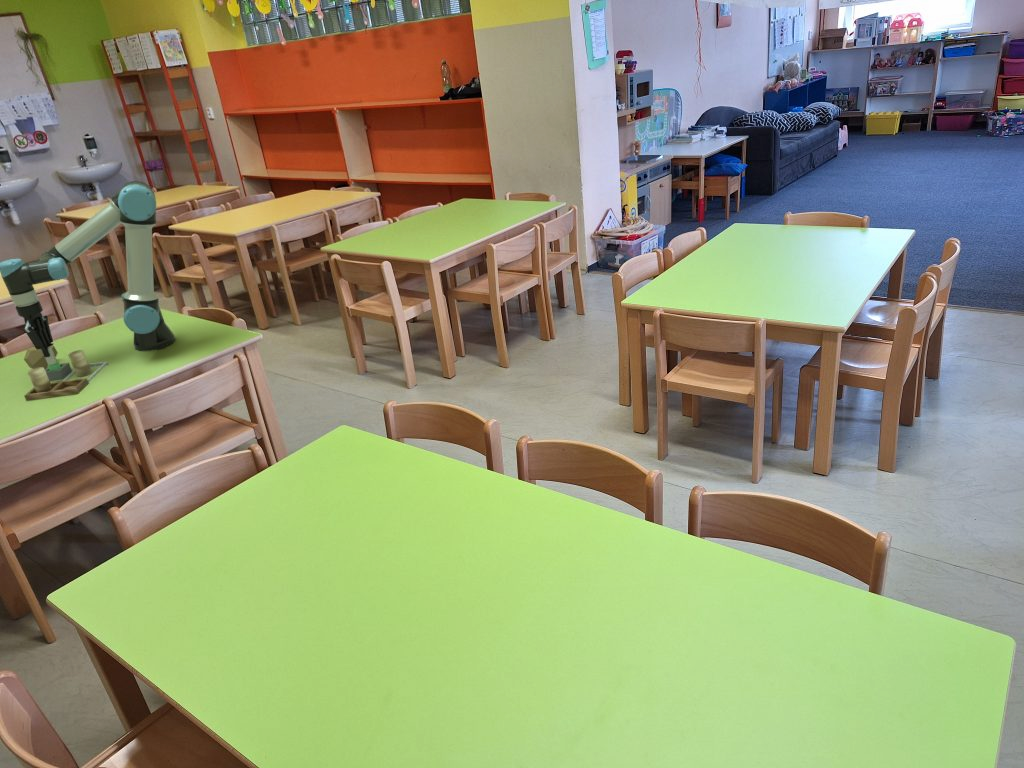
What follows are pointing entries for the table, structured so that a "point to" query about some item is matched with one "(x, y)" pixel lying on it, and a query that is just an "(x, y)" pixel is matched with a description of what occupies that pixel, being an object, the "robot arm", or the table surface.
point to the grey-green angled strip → (101, 364)
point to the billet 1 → (40, 380)
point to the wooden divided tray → (59, 389)
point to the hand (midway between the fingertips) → (52, 363)
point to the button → (54, 366)
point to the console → (59, 372)
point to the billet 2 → (80, 363)
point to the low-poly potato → (37, 357)
